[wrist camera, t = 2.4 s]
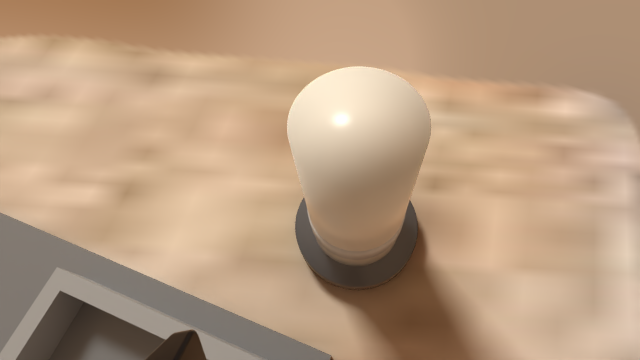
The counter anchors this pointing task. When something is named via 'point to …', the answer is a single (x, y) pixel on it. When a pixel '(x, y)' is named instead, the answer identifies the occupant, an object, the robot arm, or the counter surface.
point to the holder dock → (110, 308)
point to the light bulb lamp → (357, 173)
